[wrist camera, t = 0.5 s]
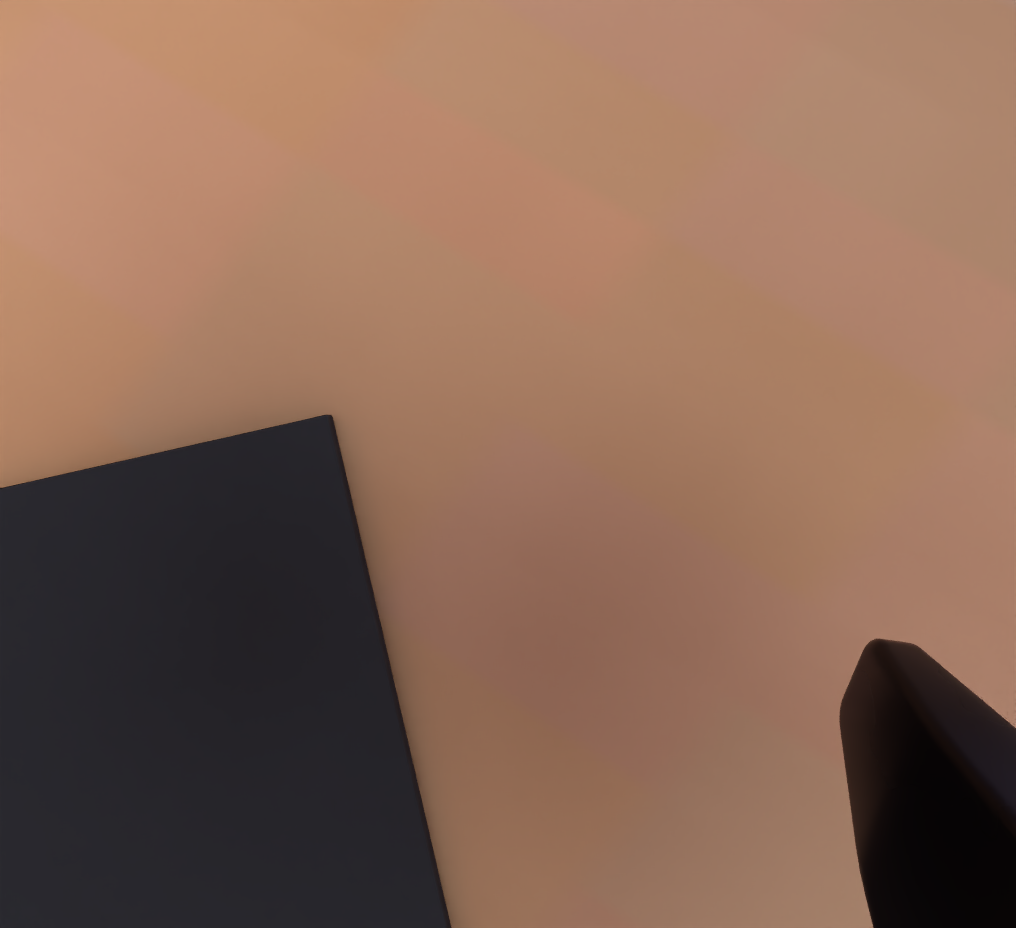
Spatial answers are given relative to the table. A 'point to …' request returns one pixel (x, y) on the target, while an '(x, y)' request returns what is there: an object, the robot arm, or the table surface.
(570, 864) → the table surface
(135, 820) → the mat
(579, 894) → the table surface
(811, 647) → the table surface
